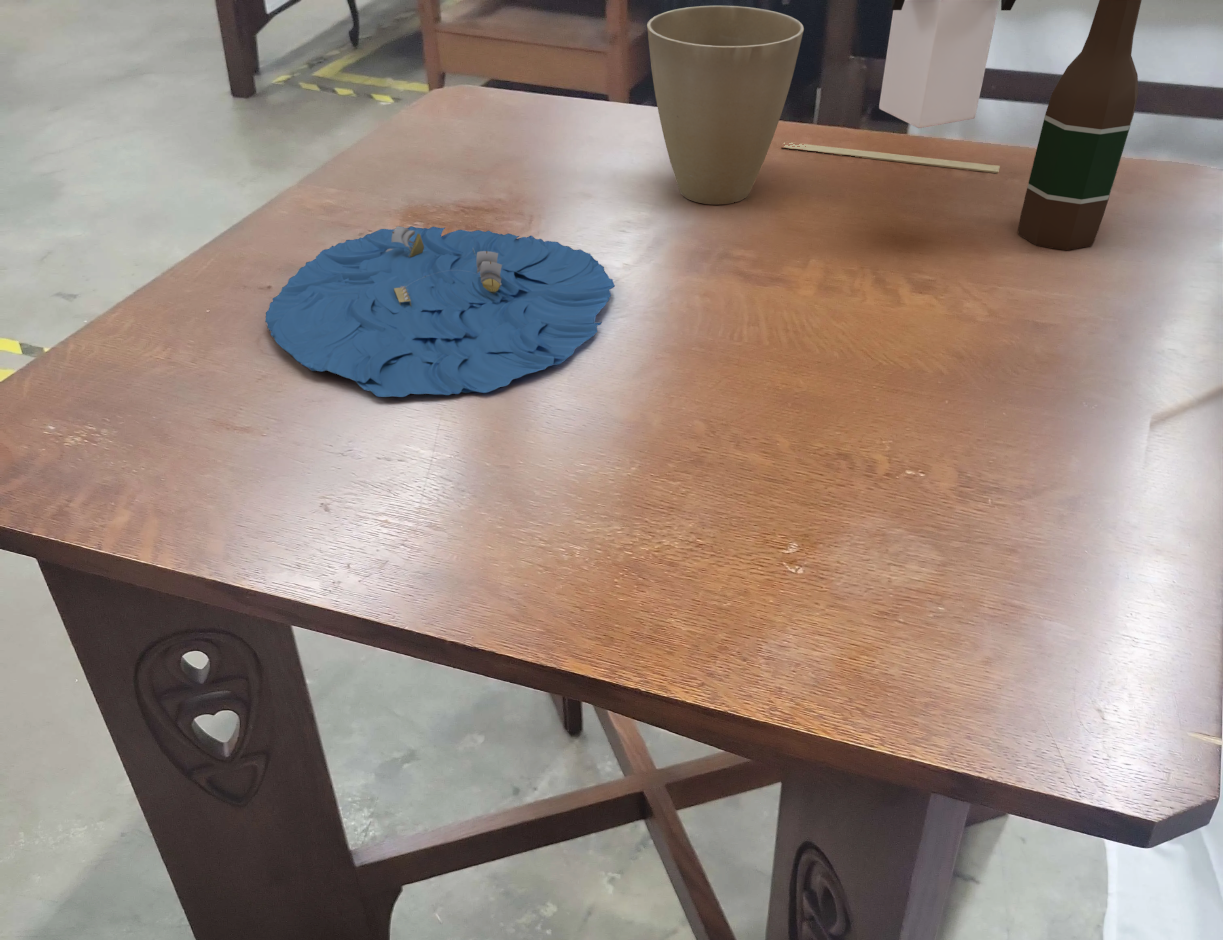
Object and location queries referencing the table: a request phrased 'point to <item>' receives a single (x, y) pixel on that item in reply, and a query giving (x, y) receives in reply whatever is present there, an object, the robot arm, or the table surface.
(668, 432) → the table surface
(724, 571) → the table surface
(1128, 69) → the beer bottle
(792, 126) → the table surface
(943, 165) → the chopstick
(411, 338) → the blue crumpled disc
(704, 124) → the plant pot
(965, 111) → the milk
